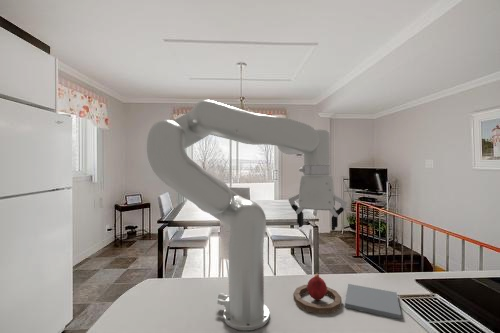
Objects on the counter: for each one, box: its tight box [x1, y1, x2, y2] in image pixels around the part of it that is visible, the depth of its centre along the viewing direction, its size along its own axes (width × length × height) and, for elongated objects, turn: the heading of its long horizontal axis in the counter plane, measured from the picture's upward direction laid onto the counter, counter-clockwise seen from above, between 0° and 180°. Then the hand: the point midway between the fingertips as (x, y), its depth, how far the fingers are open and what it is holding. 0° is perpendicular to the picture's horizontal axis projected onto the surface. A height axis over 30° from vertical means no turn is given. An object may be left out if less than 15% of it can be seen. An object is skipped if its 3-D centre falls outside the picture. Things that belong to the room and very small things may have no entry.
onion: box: [306, 273, 328, 302], centre depth 77 cm, size 6×6×8 cm
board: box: [344, 283, 402, 320], centre depth 76 cm, size 14×13×1 cm
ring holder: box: [292, 284, 342, 315], centre depth 77 cm, size 14×14×2 cm
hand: (316, 227), depth 77 cm, fingers open, 9 cm apart
